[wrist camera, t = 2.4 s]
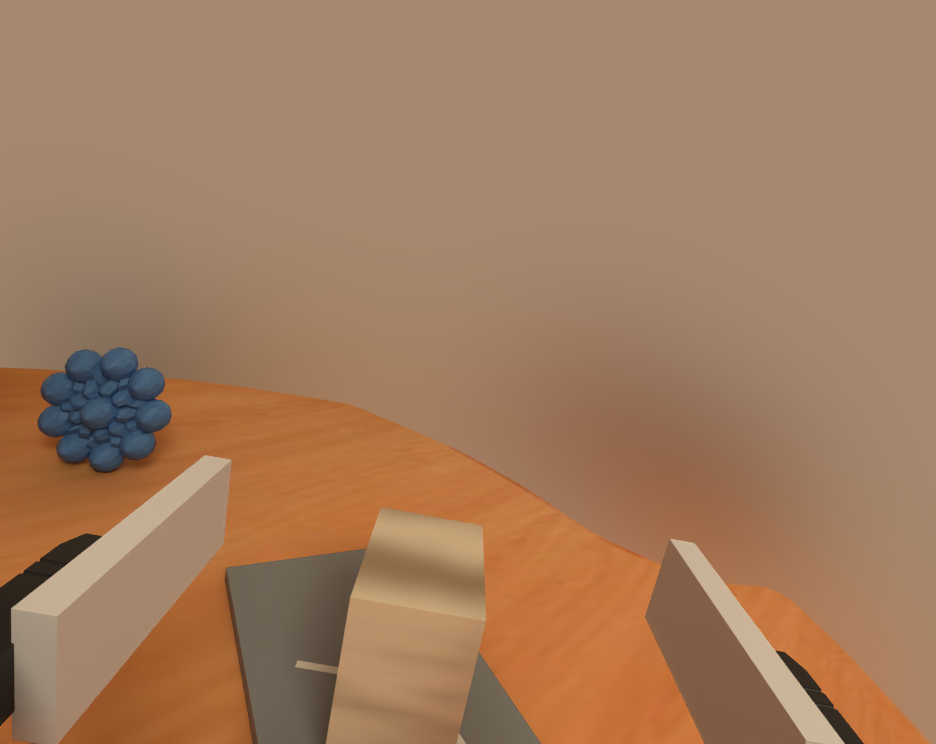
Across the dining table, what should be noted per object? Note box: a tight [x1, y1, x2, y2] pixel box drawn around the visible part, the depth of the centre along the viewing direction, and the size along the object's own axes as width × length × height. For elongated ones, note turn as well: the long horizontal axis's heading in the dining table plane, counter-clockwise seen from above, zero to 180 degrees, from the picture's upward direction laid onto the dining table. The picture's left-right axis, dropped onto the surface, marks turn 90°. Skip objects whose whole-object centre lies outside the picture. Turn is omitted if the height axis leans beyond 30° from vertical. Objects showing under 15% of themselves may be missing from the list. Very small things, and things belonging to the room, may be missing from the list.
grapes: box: [37, 347, 172, 472], centre depth 48 cm, size 12×7×12 cm, turn 87°
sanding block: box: [326, 507, 486, 744], centre depth 28 cm, size 8×6×10 cm
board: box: [225, 549, 541, 744], centre depth 33 cm, size 22×14×1 cm, turn 29°
